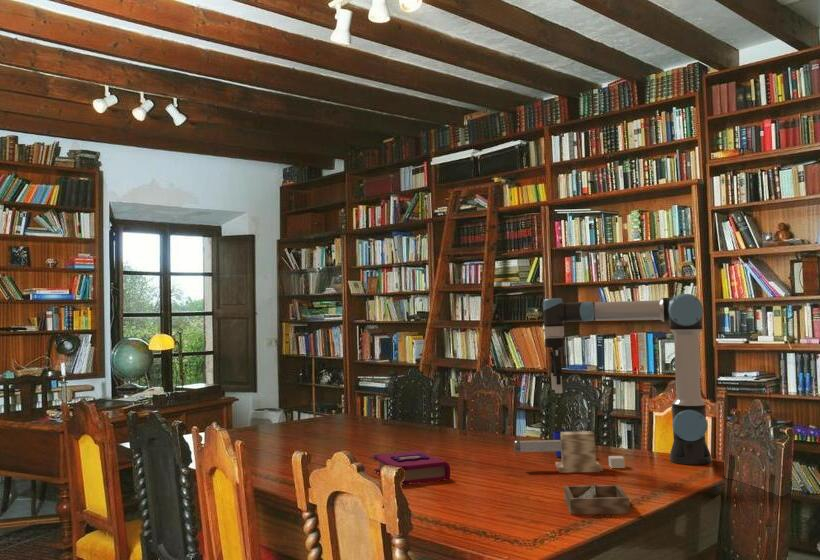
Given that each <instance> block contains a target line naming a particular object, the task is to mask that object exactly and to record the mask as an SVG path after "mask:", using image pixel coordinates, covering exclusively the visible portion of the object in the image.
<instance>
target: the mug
mask: <svg viewBox="0 0 820 560" xmlns="http://www.w3.org/2000/svg"><path fill="white" fill-rule="evenodd" d="M560 432H572V431H571V430H570V431H569V430H558V431H553V432H552V437H553V440H561V437H560ZM554 453H555V456H556V457H557V458H561V459H562V457H561V451H554Z"/></svg>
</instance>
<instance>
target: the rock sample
mask: <svg viewBox="0 0 820 560" xmlns="http://www.w3.org/2000/svg"><path fill="white" fill-rule="evenodd" d="M596 486H597V484H596V483H593V484H592V486H591V488H590V489H589V490H588V491H586V492H585V493H584V494H582V495H580V496H579V497H578V498H599V497H598V492H597V487H596Z"/></svg>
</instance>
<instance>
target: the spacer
mask: <svg viewBox="0 0 820 560" xmlns="http://www.w3.org/2000/svg"><path fill="white" fill-rule="evenodd" d="M609 466H610V467H611V468H625V469H626V461H625V457H624V456H623V455H608V467H609ZM610 467H609V468H610ZM611 468H610V469H611Z"/></svg>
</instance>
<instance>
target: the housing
mask: <svg viewBox="0 0 820 560" xmlns="http://www.w3.org/2000/svg"><path fill="white" fill-rule="evenodd" d="M560 437H561V440H562V450H563V451H561V457H562V458H561V457H560V458H561V461H555V466H556V469H557V471H558V472H559V474H561V473H562V474H563V473H568V474H569V473H601V472H600V471H603V472H604V467H602V465H601V464H600V462H599V461H597V460H596V456H597V455H596V440H595V439H596V438H595V433H594V431H591V430H590V431H589V430H588V431H587V430H586V431H571V432H560Z"/></svg>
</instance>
